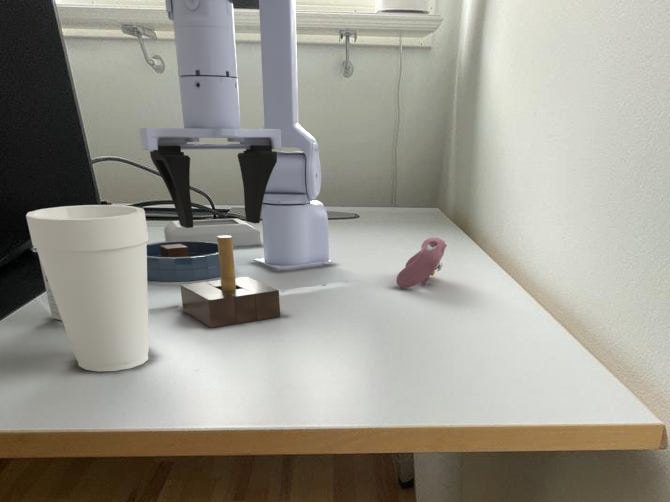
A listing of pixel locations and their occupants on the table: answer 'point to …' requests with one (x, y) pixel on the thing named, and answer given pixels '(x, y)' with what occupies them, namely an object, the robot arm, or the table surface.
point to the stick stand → (230, 302)
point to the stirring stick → (226, 262)
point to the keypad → (214, 231)
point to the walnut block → (174, 250)
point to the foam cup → (97, 280)
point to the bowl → (183, 262)
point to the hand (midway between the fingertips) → (220, 224)
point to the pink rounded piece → (422, 263)
